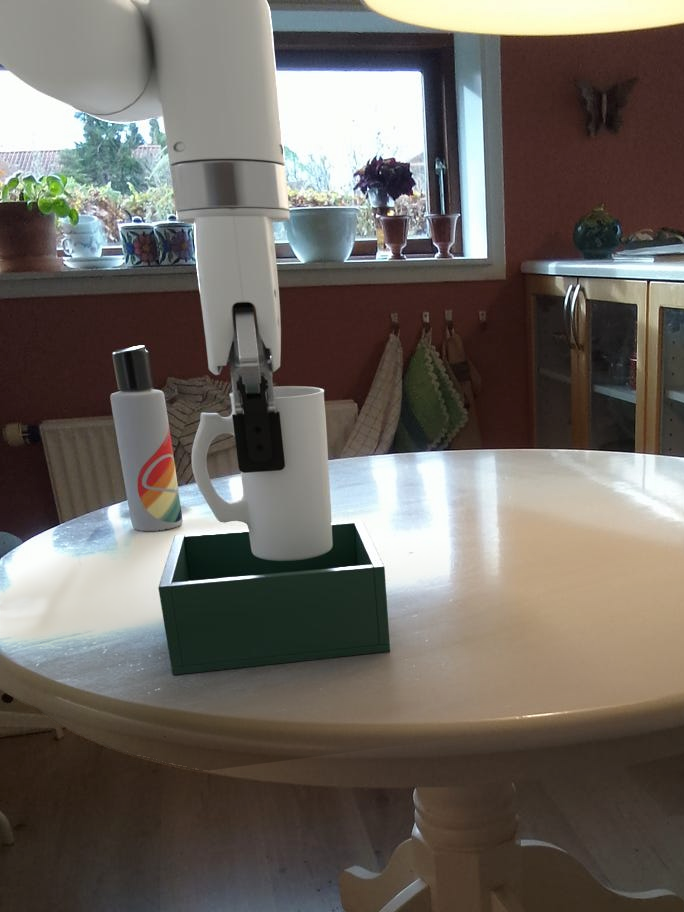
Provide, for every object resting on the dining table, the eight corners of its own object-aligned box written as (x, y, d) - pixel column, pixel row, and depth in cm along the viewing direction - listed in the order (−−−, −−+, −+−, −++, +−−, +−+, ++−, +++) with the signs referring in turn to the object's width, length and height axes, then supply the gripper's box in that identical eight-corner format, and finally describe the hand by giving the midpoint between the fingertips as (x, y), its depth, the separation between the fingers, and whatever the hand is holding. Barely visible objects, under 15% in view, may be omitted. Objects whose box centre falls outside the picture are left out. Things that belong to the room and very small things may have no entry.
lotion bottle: (189, 526, 107) (162, 345, 99) (138, 534, 104) (107, 349, 97) (176, 517, 111) (149, 343, 104) (127, 524, 108) (96, 347, 101)
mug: (325, 534, 76) (312, 384, 71) (346, 555, 70) (334, 393, 66) (199, 549, 72) (177, 392, 68) (210, 573, 67) (188, 403, 62)
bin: (172, 675, 66) (158, 586, 63) (185, 610, 79) (174, 535, 76) (390, 651, 69) (384, 566, 66) (368, 592, 82) (362, 520, 80)
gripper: (183, 209, 70) (214, 447, 76) (162, 185, 54) (204, 488, 60) (284, 207, 71) (306, 441, 78) (293, 184, 55) (320, 480, 62)
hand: (261, 459), depth 69 cm, fingers closed on mug, 6 cm apart
